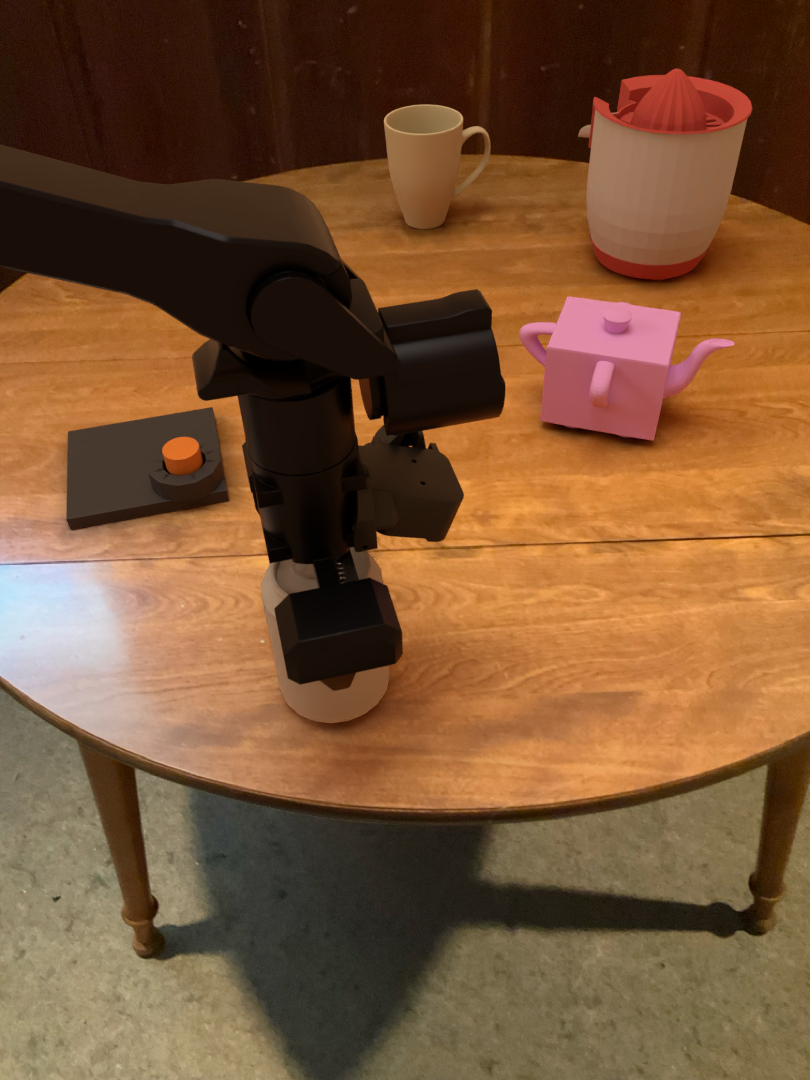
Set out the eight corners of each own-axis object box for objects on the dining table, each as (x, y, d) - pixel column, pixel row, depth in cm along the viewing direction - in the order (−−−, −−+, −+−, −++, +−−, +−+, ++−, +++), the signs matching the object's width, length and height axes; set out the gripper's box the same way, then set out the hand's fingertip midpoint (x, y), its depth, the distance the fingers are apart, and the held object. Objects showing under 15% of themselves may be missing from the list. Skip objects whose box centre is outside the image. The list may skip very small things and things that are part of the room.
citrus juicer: (606, 209, 114) (629, 31, 99) (740, 248, 106) (786, 60, 92) (537, 260, 105) (551, 73, 91) (678, 307, 97) (717, 109, 83)
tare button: (167, 479, 76) (163, 462, 74) (165, 456, 78) (161, 440, 77) (204, 472, 76) (200, 455, 75) (201, 450, 78) (197, 433, 77)
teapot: (719, 388, 87) (743, 291, 80) (704, 482, 77) (730, 381, 70) (530, 358, 91) (538, 264, 84) (495, 444, 82) (500, 345, 75)
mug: (437, 246, 108) (437, 142, 100) (373, 223, 113) (367, 122, 104) (491, 212, 114) (495, 111, 106) (428, 192, 119) (427, 93, 110)
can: (388, 730, 61) (380, 610, 52) (275, 731, 61) (248, 611, 53) (391, 641, 66) (384, 520, 58) (287, 642, 66) (264, 521, 58)
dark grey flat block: (70, 533, 75) (59, 506, 73) (71, 441, 84) (61, 415, 82) (229, 504, 77) (223, 477, 75) (214, 417, 86) (209, 390, 84)
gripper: (503, 531, 43) (491, 721, 54) (406, 325, 56) (412, 513, 67) (268, 577, 42) (304, 764, 53) (224, 354, 55) (260, 542, 66)
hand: (327, 631), depth 60 cm, fingers open, 9 cm apart
